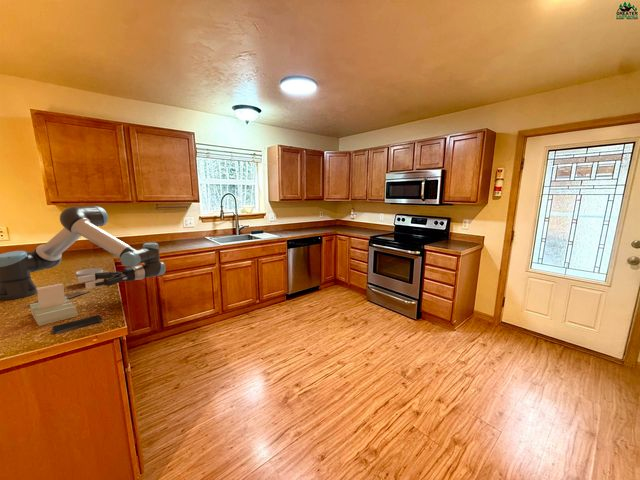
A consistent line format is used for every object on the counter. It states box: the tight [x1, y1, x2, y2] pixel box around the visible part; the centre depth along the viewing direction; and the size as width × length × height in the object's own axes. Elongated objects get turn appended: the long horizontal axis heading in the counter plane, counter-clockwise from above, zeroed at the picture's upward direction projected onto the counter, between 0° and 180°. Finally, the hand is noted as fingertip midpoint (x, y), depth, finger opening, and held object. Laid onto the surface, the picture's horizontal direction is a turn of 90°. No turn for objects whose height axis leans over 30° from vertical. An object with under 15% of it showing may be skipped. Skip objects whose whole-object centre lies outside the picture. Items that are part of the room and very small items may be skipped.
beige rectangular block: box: [36, 282, 66, 310], centre depth 117 cm, size 4×8×12 cm, turn 144°
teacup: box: [75, 267, 108, 285], centre depth 162 cm, size 15×12×8 cm
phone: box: [51, 314, 103, 335], centre depth 109 cm, size 8×1×15 cm
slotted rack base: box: [29, 297, 78, 327], centre depth 118 cm, size 20×12×4 cm, turn 54°
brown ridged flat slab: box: [21, 290, 91, 309], centre depth 136 cm, size 26×11×1 cm, turn 147°
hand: (81, 283), depth 124 cm, fingers open, 13 cm apart
